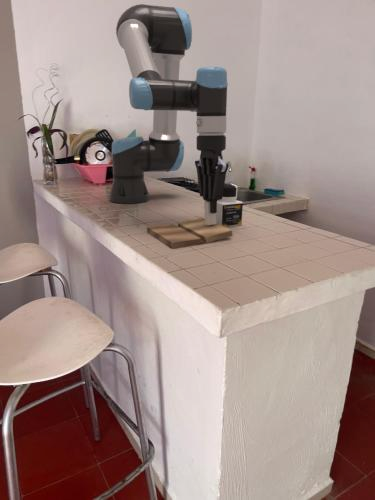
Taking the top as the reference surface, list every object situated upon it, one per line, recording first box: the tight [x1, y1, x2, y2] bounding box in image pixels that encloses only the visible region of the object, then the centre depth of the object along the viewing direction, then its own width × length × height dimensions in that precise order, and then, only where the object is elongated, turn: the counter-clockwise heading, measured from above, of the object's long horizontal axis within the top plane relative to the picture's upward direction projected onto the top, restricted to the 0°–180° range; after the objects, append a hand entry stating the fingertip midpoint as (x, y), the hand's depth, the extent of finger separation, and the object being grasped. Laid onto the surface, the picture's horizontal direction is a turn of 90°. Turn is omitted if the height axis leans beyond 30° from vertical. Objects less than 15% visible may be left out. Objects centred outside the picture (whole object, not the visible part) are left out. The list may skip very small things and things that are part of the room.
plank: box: [176, 216, 233, 244], centre depth 103 cm, size 16×8×2 cm, turn 28°
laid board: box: [146, 223, 206, 250], centre depth 99 cm, size 16×9×2 cm, turn 28°
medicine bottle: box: [216, 183, 244, 228], centre depth 111 cm, size 7×7×12 cm
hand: (210, 223), depth 103 cm, fingers closed
